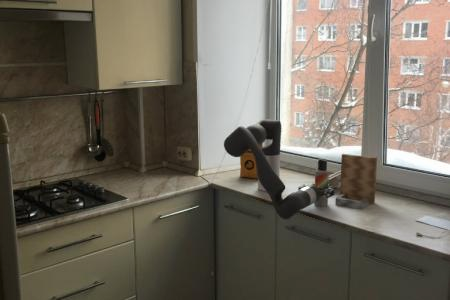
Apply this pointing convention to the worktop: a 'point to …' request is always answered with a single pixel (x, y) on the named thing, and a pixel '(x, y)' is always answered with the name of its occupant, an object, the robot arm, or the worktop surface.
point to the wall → (333, 179)
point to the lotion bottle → (322, 181)
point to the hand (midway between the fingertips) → (322, 187)
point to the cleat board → (357, 181)
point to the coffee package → (248, 165)
